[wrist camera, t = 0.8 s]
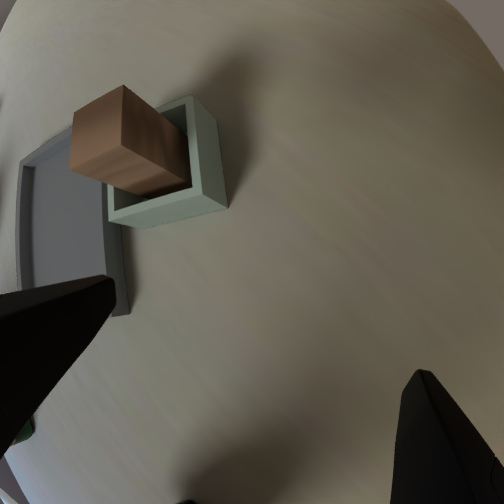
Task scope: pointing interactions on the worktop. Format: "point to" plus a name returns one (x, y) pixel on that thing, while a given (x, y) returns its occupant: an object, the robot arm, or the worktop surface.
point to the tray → (64, 224)
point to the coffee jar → (24, 433)
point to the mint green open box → (202, 171)
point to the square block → (129, 146)
